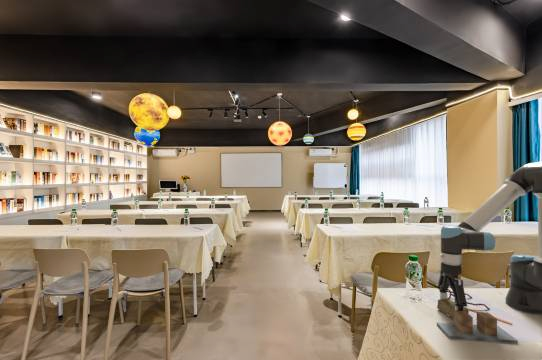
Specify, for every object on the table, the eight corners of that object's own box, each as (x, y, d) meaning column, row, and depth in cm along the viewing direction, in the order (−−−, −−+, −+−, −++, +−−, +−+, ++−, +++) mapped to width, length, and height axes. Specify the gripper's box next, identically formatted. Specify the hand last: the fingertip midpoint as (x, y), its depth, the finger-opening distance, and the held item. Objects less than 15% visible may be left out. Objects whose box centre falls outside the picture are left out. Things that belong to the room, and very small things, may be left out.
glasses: (444, 297, 139) (444, 287, 139) (472, 298, 138) (472, 288, 138) (459, 309, 126) (459, 298, 126) (490, 310, 125) (490, 299, 125)
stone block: (457, 322, 113) (457, 309, 113) (435, 309, 125) (435, 298, 125) (470, 321, 114) (470, 308, 115) (447, 308, 126) (447, 297, 126)
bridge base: (498, 328, 108) (498, 310, 108) (517, 343, 98) (517, 323, 98) (436, 324, 111) (436, 306, 111) (449, 338, 101) (449, 318, 101)
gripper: (429, 255, 132) (429, 301, 132) (456, 271, 108) (456, 328, 108) (446, 256, 131) (446, 302, 131) (478, 272, 107) (478, 329, 107)
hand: (451, 314), depth 119 cm, fingers open, 12 cm apart
